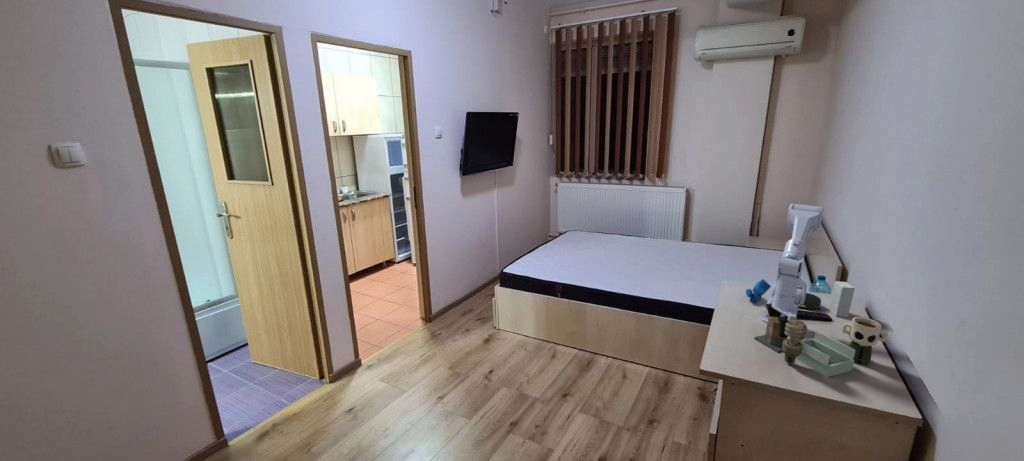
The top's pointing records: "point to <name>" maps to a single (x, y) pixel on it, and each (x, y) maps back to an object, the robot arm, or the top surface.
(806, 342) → the pale green open tray
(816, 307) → the smart speaker
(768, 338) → the walnut box
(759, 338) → the mat
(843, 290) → the skincare box
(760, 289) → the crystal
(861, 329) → the character mug
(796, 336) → the light bulb
